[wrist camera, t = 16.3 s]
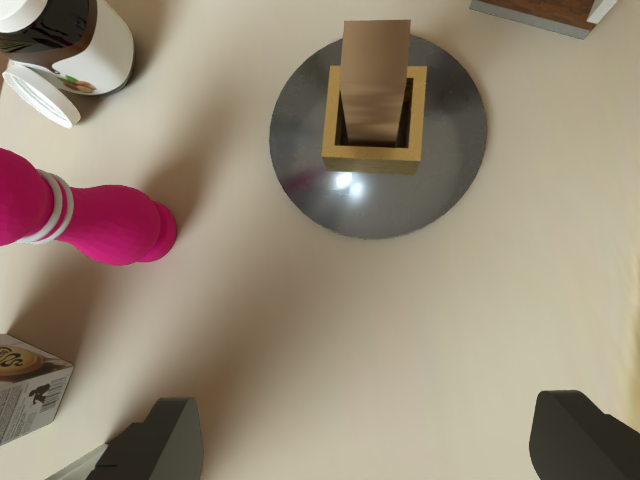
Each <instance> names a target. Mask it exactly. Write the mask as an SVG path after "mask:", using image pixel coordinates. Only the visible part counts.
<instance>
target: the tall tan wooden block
mask: <svg viewBox="0 0 640 480" xmlns="http://www.w3.org/2000/svg"><path fill="white" fill-rule="evenodd" d="M410 22H411V20H374V21H344V32H343V44H342V55H341V66H340V78H339V85H340V91H341V97H342V103H343V109H344V116H345V122H346V128H347V134H348V141H349V146H360V147H385V148H395V143H396V138H397V132H398V127H399V121H400V115H401V110H402V104H403V99H404V93H405V87H406V80H407V66H408V51H409V36H410Z"/></svg>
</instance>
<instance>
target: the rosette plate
mask: <svg viewBox="0 0 640 480" xmlns="http://www.w3.org/2000/svg"><path fill="white" fill-rule="evenodd" d="M342 44H343V39H340V40H338V41H336V42H334V43H331V44H329V45H327V46H326V47H324V48H322V49H321V50H319V51H317V52H316V53H315V54H313V55H312V56H311V57H310V58H308V59H307V60H306V61H305V62H304V63H303V64H302V65H301V66H300V67H299V68H298V69H297V70H296V71H295V72H294V74H293V75H292V76H291V77H290V79H289V80H288V81H287V83H286V85H285V86H284V88H283V90H282V91H281V93H280V96H279V98H278V100H277V102H276V105H275V108H274V111H273V115H272V120H271V125H270V139H269V142H270V154H271V158H272V163H273V167H274V170H275V172H276V175H277V178H278V180H279V182H280V184H281V185H282V187H283V189H284V191H285V192H286V194H287V195H288V196H289V198H290V199H291V200H292V202H293V203H294V204H295V205H296V206H297V207H298V208H299V209H300V210H301V211H302V212H303V213H304V214H305V215H307V216H308V217H309V218H310V219H312V220H313V221H314V222H316V223H318V224H319V225H321V226H323V227H324V228H326V229H329V230H331V231H333V232H336V233H338V234H341V235H345V236H349V237H353V238H360V239H387V238H394V237H398V236H402V235H406V234H409V233H412V232H414V231H417V230H419V229H422V228H423V227H425V226H427V225H429V224H431V223H433V222H434V221H436V220H437V219H438V218H440V217H441V216H442V215H444V214H445V213H446V212H447V211H448V210H449V209H450V208H452V207H453V206H454V205H455V204H456V203H457V202H458V201H459V200H460V198H461V197H462V196H463V195H464V193H465V192H466V191H467V190H468V188H469V186H470V185H471V183H472V181H473V180H474V178H475V176H476V174H477V172H478V169H479V167H480V165H481V162H482V158H483V154H484V151H485V144H486V136H487V135H486V117H485V111H484V106H483V103H482V100H481V97H480V94H479V92H478V90H477V88H476V86H475V84H474V82H473V80H472V79H471V77H470V76H469V74H468V73H467V71H466V70H465V69H464V68H463V67H462V66H461V65H460V64H459V62H458V61H457V60H456V59H454V58H453V57H452V56H451V55H450V54H448V53H447V52H446V51H444V50H443V49H441V48H440V47H438V46H436V45H435V44H433V43H431V42H428V41H426V40H424V39H422V38H418V37H415V36H412V35H410V36H409V51H408V66H407V80H406V87H405V93H404V99H403V104H402V110H401V115H400V121H399V127H398V132H397V138H396V143H395V148H385V147H360V146H349V141H348V134H347V128H346V122H345V116H344V109H343V103H342V97H341V91H340V85H339V78H340V66H341V55H342Z"/></svg>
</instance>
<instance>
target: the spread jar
mask: <svg viewBox="0 0 640 480" xmlns="http://www.w3.org/2000/svg"><path fill="white" fill-rule="evenodd" d="M0 51H1V52H2V53H3V54H4V55H5V56H7V57H8V58H9V59H10V60H12V61H13V62H15V63H16V64H13V65H12V66H11V67H9V68H8V69H7V70H6V71H5V72H4V73H3V77H4V79H5V81H6V82H7V83H8V84H9V86H10V87H11V88H12V89H13V90H14V91H15V92H16V93H17V94H18V95H19V96H21V97H22V98H23V99H24V100H25V101H26V102H27V103H29V104H30V105H31V106H32V107H34V108H35V109H36V110H38V111H39V112H40V113H42V114H43V115H45V116H46V117H48V118H49V119H51V120H52V121H54V122H56V123H58V124H59V125H62V126H64V127H67V128H72V127H73V126H74V125H75V124H76V123H77V122H78V121H79V120H80V119H81V116H80V114H79V112H78V110H77V109H76V107H75V106H74V105H73V104H72V103H71V102H70V101H69V100H68V99H67V97H65V96H64V95H63V94H62V93H61V92H60V91H59V90H58V89H57V88H56V87H58V88H61V89H63V90H66V91H69V92H72V93H76V94H80V95H85V96H91V97H103V96H108V95H111V94H114V93H115V92H117V91H119V90H120V89H121V88H123V87H124V86H125V84H126V83H127V82H128V80H129V78H130V76H131V73H132V70H133V67H134V60H135V49H134V42H133V38H132V34H131V32H130V30H129V28H128V26H127V25H126V23H125V22H124V21H123V19H122V18H121V17H120V16H119V15H118V14H117V13H116V12H115V11H114V10H113V9H112V8H111V7H110V5H109V4H108V3H107V2H106V1H105V0H0ZM53 85H54V86H56V87H54V86H53Z"/></svg>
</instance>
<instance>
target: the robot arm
mask: <svg viewBox="0 0 640 480" xmlns="http://www.w3.org/2000/svg"><path fill="white" fill-rule="evenodd" d="M529 451H530V457H531V461H532V464H533V466H534V469H535V471H536V473H537V475H538V476H539V478H540V479H541V480H640V434H639V433H638V432H637V431H635V430H633V429H632V428H630V427H629V426H627V425H626V424H624V423H622V422H621V421H619V420H618V419H616V418H614V417H613V416H611V415H610V414H604V413H603V412H602V411H601V410H600V409H599V408H598V407H597V406H596V405H595V404H594V403H593V402H592V401H591V400H590V399H589V398H588V397H587V396H585V395H584V394H583V393H582V392H580V391H577V390H556V391H541V392H540V393H539V394H538V397H537V401H536V407H535V412H534V418H533V424H532V430H531V435H530V441H529ZM202 466H203V444H202V437H201V430H200V423H199V416H198V409H197V403H196V400H195V398H193V397H177V398H160V399H158V401H157V402H156V403H155V405H154V406H153V408H152V410H151V411H150V413H149V415H148V416H147V418H146V419H145V421H144V423H132V424H131V425H130V426H129V427H128V428H126V429H125V430H124V431H123V432H122V433H121V434H119V435H118V436H117V437H116V438H115V439H114V440H113V441H111V442H110V444H103V445H101V446H99V447H98V448H96V449H94V450H93V451H91V452H89V453H88V454H86V455H84V456H83V457H81V458H80V459H78V460H76V461H75V462H73V463H71V464H70V465H68V466H66V467H65V468H63V469H62V470H60V471H58V472H57V473H55V474H53V475H52V476H50V477H48V478H47V479H45V480H200V476H201V471H202Z"/></svg>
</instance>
